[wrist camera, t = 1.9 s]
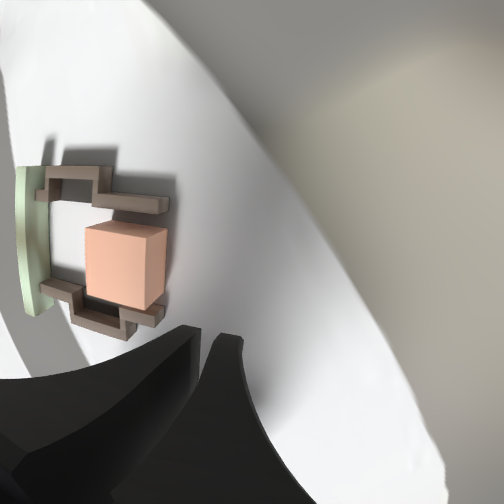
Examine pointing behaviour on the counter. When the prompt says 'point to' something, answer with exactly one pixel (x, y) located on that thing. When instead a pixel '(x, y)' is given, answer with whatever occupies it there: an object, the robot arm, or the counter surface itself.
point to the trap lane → (37, 244)
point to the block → (125, 262)
